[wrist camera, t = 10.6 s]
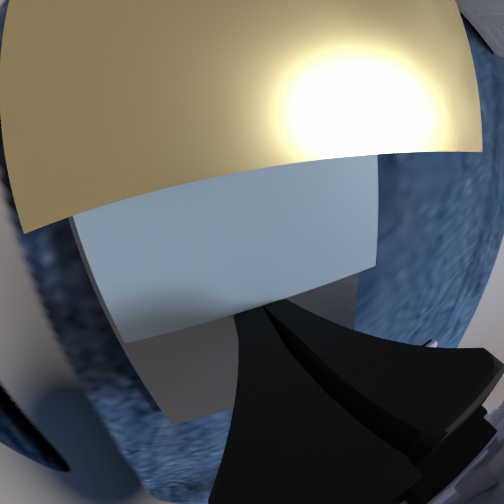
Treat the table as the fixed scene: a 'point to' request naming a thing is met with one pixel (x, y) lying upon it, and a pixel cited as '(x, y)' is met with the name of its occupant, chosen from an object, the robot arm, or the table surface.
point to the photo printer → (486, 20)
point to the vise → (210, 350)
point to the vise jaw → (231, 242)
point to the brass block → (220, 91)
